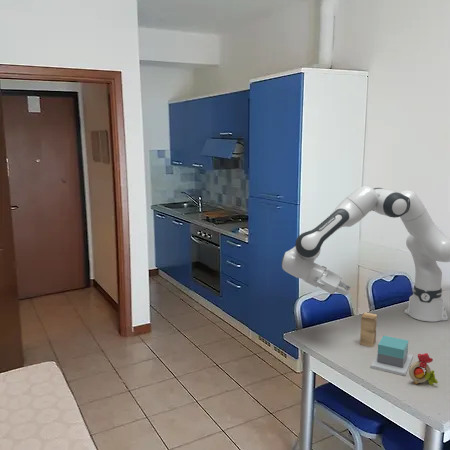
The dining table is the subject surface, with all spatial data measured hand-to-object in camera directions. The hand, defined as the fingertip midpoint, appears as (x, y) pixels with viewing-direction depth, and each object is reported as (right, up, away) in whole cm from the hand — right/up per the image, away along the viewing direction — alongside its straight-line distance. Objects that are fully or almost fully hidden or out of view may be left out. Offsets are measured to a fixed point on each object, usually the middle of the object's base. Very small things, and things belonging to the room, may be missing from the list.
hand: (348, 291), depth 190 cm
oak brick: (+8, -21, +1) cm, 23 cm away
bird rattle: (+17, -27, -30) cm, 44 cm away
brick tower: (+12, -24, -16) cm, 31 cm away
